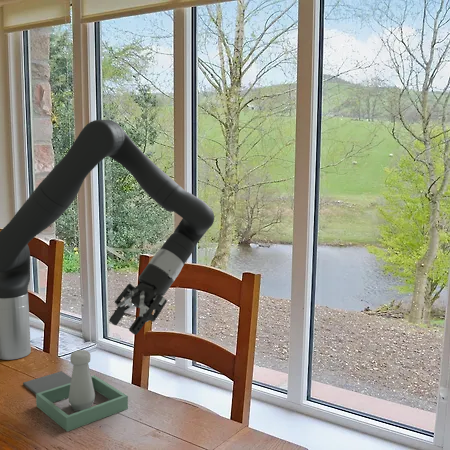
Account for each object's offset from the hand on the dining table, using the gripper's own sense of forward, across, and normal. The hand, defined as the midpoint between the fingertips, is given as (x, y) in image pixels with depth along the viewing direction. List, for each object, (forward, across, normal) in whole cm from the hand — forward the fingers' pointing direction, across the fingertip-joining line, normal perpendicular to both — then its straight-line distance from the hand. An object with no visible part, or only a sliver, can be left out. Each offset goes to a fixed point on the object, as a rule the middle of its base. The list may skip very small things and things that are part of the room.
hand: (122, 327), depth 128 cm
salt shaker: (+19, 0, +4) cm, 19 cm away
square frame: (+19, 0, +4) cm, 19 cm away
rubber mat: (+19, -15, +4) cm, 24 cm away
